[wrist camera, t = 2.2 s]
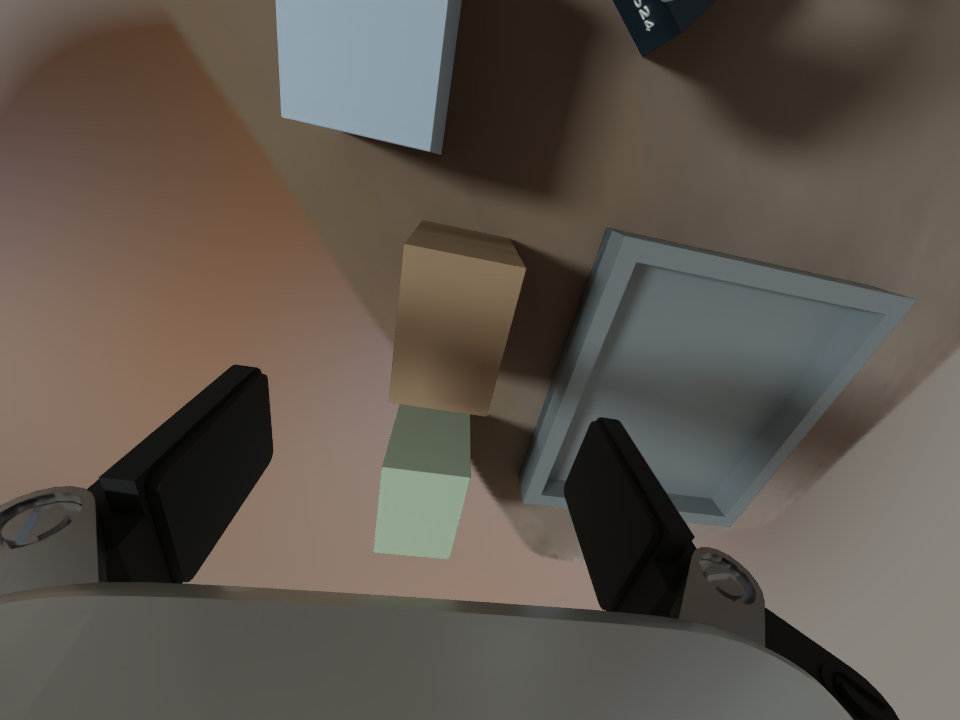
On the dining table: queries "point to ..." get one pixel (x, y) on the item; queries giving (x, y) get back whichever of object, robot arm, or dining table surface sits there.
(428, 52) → the dusty blue brick
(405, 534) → the sage brick
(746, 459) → the tray
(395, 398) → the walnut brick
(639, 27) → the watch
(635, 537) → the robot arm
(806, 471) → the dining table surface
